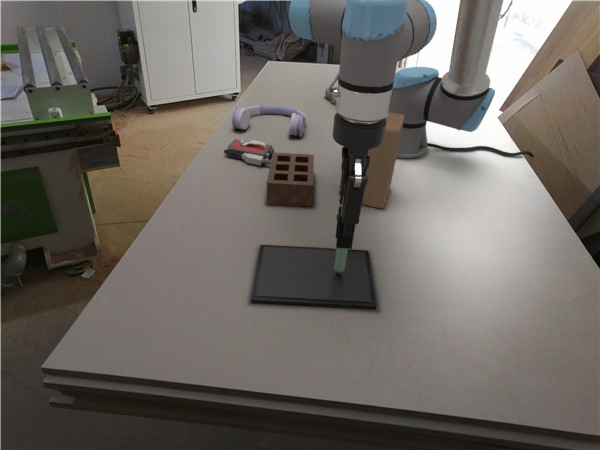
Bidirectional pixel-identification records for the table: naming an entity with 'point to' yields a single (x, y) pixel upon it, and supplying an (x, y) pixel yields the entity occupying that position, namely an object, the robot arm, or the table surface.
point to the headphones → (243, 114)
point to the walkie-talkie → (250, 151)
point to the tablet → (313, 278)
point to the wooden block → (383, 163)
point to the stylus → (340, 259)
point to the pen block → (290, 179)
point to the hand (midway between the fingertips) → (343, 241)
